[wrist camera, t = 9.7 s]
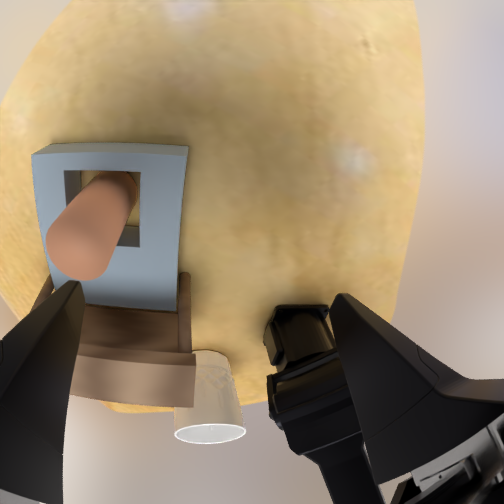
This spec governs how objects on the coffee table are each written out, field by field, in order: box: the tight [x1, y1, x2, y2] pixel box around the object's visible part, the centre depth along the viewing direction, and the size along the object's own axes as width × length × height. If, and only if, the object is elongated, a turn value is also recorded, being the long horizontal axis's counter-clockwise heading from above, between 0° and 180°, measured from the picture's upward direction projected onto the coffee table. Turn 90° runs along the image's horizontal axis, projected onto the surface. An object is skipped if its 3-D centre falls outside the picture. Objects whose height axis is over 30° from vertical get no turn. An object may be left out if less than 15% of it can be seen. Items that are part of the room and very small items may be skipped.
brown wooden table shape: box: [30, 272, 196, 408], centre depth 20 cm, size 14×7×10 cm, turn 79°
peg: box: [46, 171, 137, 281], centre depth 15 cm, size 4×4×8 cm
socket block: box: [31, 143, 189, 311], centre depth 19 cm, size 11×13×3 cm
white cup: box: [174, 350, 246, 444], centre depth 28 cm, size 8×8×10 cm
